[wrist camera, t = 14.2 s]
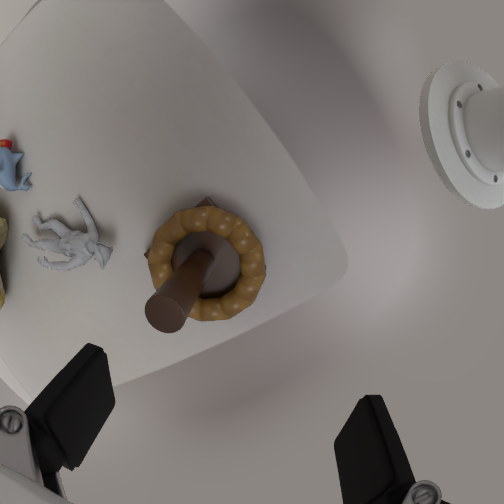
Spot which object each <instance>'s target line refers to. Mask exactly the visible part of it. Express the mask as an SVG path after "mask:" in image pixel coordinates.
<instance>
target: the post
mask: <svg viewBox="0 0 504 504" xmlns="http://www.w3.org/2000/svg"><path fill="white" fill-rule="evenodd" d="M202 206H214V207H216V208H218V207H217V206H216V205H215V203H214V202H213V201H212V200H211V199H210V197H206V198H205V199H204V200H203V201H202V202H200V203H199V204H198V205H197V206H196V207H202ZM196 207H195V208H196ZM150 249H151V248H150ZM150 249H149V250H147V251H146V252H145V253H144V256H145V257H146V258H147V259H148V256H149V252H150ZM171 265H172V269H173V273H172V274H171V276H170V277H169V278H168V279H167V280H166V281H165V282H164V283H163V284H162V285H161V286H160V288H159V289H158V290H157V291H156V292H155V293H154V294H153V295H152V296H151V297H150V299H149V300H148V301H147V303H146V305H145V315H146V318H147V320H148V322H149V323H150V324H151V325H152V326H153V327H154V328H155V329H157V330H159V331H161V332H164V333H173V332H176V331H178V330H180V329H181V328H182V326H183V325H184V323H185V321H186V319H187V317H188V315H189V314H190V312H191V310H192V308H193V306H194V304H195V302H196V300H197V299H198V297H200V298H202V299H209V298H220V297H222V296H224V295H225V294H227V293H228V292H229V291H231V290H232V289H234V288H235V286H236V284H237V281H238V279H239V276H240V274H241V267H240V260H239V254H238V253H237V251H236V250H235V249H234V248H233V246H232V245H231V244H230V243H229V241H228V240H227V239H226V238H224V237H221V236H219V235H217V234H214V233H212V232H209V231H202V232H195V233H189V234H188V235H186V236H185V237H184V238H183V239H182V240H180V241H179V242H178V243H177V244H176V245H175V248H174V251H173V255H172V258H171ZM265 270H266V265H265Z"/></svg>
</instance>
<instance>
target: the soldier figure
mask: <svg viewBox="0 0 504 504" xmlns="http://www.w3.org/2000/svg"><path fill="white" fill-rule="evenodd" d="M75 200H76V201H75ZM75 200H74V202H76V203H77V204H76V203H74V202H73V203H74V204H75V205H76V206H77V207H78V208H79V209H80V210H81V214H82V216H83V218H84V220H85V224H86V226H87V228H88V233H83V232H81V231H78V230H77V231H71V230H70V229H69V228H67V227H66V226H65V225H64V224H62V223H60V222H58V221H57V220H56V219H55V220H53V219H49V221H47V222H45V223H42V222H41V220H40V218H39V217H38V216H36V215H35V216H33V221H34V223H35V224H36V225H37V226H38V228H39V230H40V231H43V230H46V229H52V230H53V232H55V233H57V234H58V236H59V237H60V238H61V239H41V240H38V241H33V240H32V239H31V238H30V237H29V236H28V235H27V234H22V236H21V238H22V239H23V241H25V242H27V243H28V244H29V246H30V247H35V248H38V249H42V250H44V251H46V250H49V251H52V252H57V253H63V254H64V255H66V256H69V257H73V256H72V255H74V257H73V258H72V259H70V260H69V261H68V262H66V261H62V262H52V263H51V262H49V261H48V260H47V258H46V257H44V258H45V259H41V258H40V257H38V258H39V259H40V260H39V259H38V258H37V261H38V260H39V261H40V262H39V261H38V263H39V264H40V265H41V266H43V267H47V268H51V269H56V270H71V269H73V268H76V267H77V266H78V267H79V266H82V265H84V264H85V263H86V262H87V261H88V260H89V259H90V258H92V256H93V255H95V256H96V258H94V259H96V260H97V261H98V262H99V264H100V266H101V269H102V270H103V269H104V267H105V265H106V263H107V262H108V260H109V258H110V256H111V253H112V251H113V247H112V246H111V247H108V246H106V245H105V244H104V243H101V242H98V239H99V236H98V232H97V230H96V227H95V223H94V221H93V219H92V217H91V215H90V214H89V212H88V211H87V209H86V208H85V207H84V205H83V203H82V202H81V201H80V200H79V199H78V198H76V199H75Z"/></svg>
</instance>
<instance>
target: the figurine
mask: <svg viewBox="0 0 504 504" xmlns="http://www.w3.org/2000/svg"><path fill="white" fill-rule="evenodd" d="M11 146H12V142H11V141H10V140H7V139H3V140H0V187H1V188H2V189H4V190H7V191H15V190H26V191H27V190H28V189H29V188H30V186H31V185H29V186H24V184H25V181H26V178H28V177H29V176H30V175H31V173H30V174H28V175H26V176H24V177H23V178H22V180H21V183H20V186H19V187H17V186H16V177H15V176H16V168H15V166H16V164H17V162H18V161H19V159H20V158H21V157H22V156H23V154H22V153H14V154H13V153H12V152H11Z"/></svg>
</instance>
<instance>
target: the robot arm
mask: <svg viewBox="0 0 504 504" xmlns="http://www.w3.org/2000/svg"><path fill="white" fill-rule="evenodd" d="M449 122H450V130H451V134H452V138H453V142H454V144H455V147H456V150H457V152H458V154H459V157H460V159H461V161H462V162H463V164H464V165H465V167H466V169H467V170H468V171H469V172H470V174H471V175H472V176H473V177H475V178H476V179H477V180H478V181H480V182H482V183H484V184H487V185H494V186H497V185H500V184H503V183H504V85H502V86H499V87H495V88H492V89H491V88H489V87H488V86H487V85H485V84H483V83H481V82H477V81H468V82H465V83H463V84H461V85H459V86H458V87H457V88H456V89H455V91H454V92H453V94H452V97H451V100H450V106H449ZM114 406H115V397H114V392H113V387H112V382H111V377H110V371H109V365H108V359H107V354H106V353H104V351H103V348H101V347H99V346H96V345H93V344H91V343H87V344H86V345H85V346H84V347H83V348H82V349H81V350H80V351H79V352H78V353H77V354H76V355H75V356H74V358H73V359H72V360H71V361H70V362H69V363H68V364H67V365H66V366H65V367H64V368H63V369H62V370H61V371H60V372H59V373H58V374H57V375H56V376H55V377H54V378H53V380H52V381H51V382H50V383H49V384H48V385H47V386H46V387H45V388H44V390H43V391H42V392H41V393H40V394H39V395H38V396H37V397H36V399H35V400H34V401H33V402H32V403H31V404H30V406H29V407H28V408H27V409H26V410H25V411H22V410H21V409H20V408H18V407H16V406H4V407H2V408H1V409H0V504H73V503H71V502H69V501H68V500H67V497H66V494H65V491H64V488H63V484H62V481H61V478H60V474H59V470H60V469H61V467H62V466H64V467H65V468H67V469H69V470H71V471H73V469H74V468H75V467H79V466H80V464H81V463H82V461H83V459H84V457H85V456H86V454H87V452H88V450H89V449H90V447H91V445H92V444H93V442H94V440H95V438H96V437H97V435H98V433H99V432H100V430H101V428H102V426H103V425H104V423H105V421H106V420H107V418H108V416H109V415H110V413H111V411H112V410H113V408H114ZM334 450H335V456H336V462H337V467H338V473H339V480H340V486H341V492H342V498H343V504H450V503H448V502H445V501H443V500H441V498H442V494H441V490H440V488H439V487H438V486H437V485H436V484H435V483H433V482H432V481H428V480H421V481H419V482H416V481H415V478H414V475H413V473H412V470H411V467H410V464H409V462H408V459H407V456H406V454H405V451H404V449H403V446H402V443H401V440H400V438H399V435H398V433H397V431H396V429H395V427H394V424H393V422H392V419H391V417H390V415H389V412H388V410H387V407H386V405H385V403H384V400H383V398H382V396H381V395H365V396H364V397H363V398H362V399H360V400H359V401H358V403H357V405H356V406H355V408H354V410H353V412H352V413H351V415H350V417H349V418H348V420H347V422H346V423H345V425H344V427H343V428H342V430H341V432H340V433H339V435H338V436H337V438H336V439H335V442H334Z"/></svg>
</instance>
